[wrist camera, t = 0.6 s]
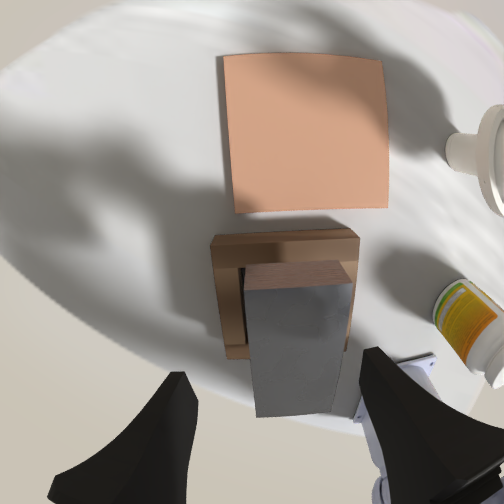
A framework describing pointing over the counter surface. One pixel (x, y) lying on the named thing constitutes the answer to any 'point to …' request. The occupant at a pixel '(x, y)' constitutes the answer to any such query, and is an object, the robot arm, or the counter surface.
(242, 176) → the terracotta coaster
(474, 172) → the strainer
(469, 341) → the supplement bottle
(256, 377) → the dark grey block
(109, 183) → the counter surface
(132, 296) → the counter surface
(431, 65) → the counter surface
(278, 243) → the walnut holder
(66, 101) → the counter surface
